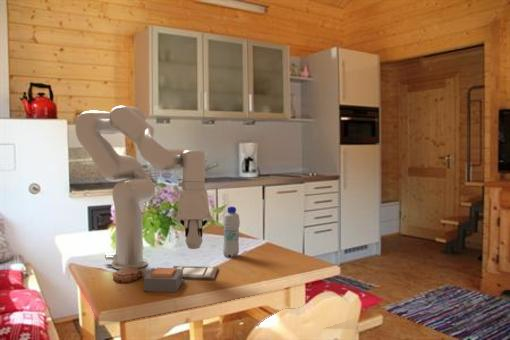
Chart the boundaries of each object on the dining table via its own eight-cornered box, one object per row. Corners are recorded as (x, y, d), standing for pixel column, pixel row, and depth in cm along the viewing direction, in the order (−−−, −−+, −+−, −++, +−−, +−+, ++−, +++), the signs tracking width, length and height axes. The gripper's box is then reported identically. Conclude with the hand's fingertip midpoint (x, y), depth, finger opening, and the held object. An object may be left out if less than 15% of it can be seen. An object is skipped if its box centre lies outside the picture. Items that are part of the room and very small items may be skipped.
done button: (152, 282, 135) (152, 273, 135) (157, 276, 141) (157, 267, 141) (171, 283, 135) (171, 273, 135) (175, 277, 141) (175, 268, 141)
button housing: (143, 291, 134) (143, 278, 133) (152, 280, 144) (152, 268, 143) (176, 292, 133) (176, 279, 133) (182, 281, 143) (182, 269, 143)
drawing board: (166, 278, 145) (166, 275, 145) (174, 267, 157) (174, 265, 157) (213, 280, 145) (213, 277, 145) (218, 269, 157) (218, 266, 157)
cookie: (110, 284, 140) (110, 275, 139) (113, 274, 150) (113, 265, 150) (142, 283, 142) (142, 274, 142) (143, 273, 152) (143, 264, 152)
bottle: (242, 255, 176) (243, 206, 174) (232, 259, 170) (233, 208, 168) (229, 252, 179) (229, 204, 178) (219, 256, 174) (219, 206, 172)
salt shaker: (199, 250, 147) (199, 212, 146) (183, 249, 148) (182, 211, 147) (204, 245, 153) (204, 209, 152) (189, 245, 154) (188, 208, 153)
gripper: (167, 186, 145) (167, 241, 147) (216, 187, 145) (216, 241, 146) (172, 184, 153) (172, 236, 154) (218, 185, 152) (218, 236, 154)
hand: (193, 238), depth 150 cm, fingers closed on salt shaker, 3 cm apart
